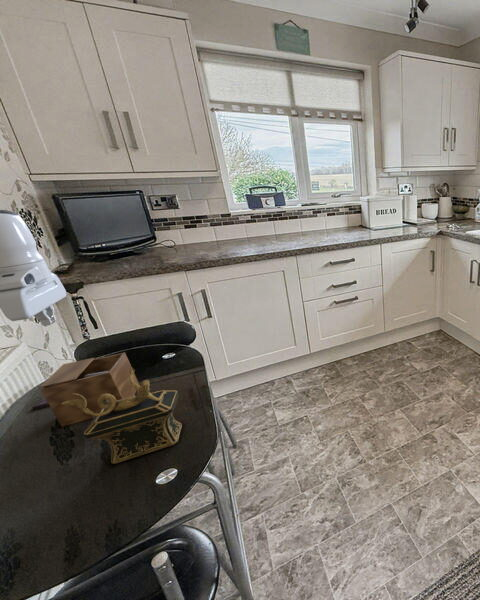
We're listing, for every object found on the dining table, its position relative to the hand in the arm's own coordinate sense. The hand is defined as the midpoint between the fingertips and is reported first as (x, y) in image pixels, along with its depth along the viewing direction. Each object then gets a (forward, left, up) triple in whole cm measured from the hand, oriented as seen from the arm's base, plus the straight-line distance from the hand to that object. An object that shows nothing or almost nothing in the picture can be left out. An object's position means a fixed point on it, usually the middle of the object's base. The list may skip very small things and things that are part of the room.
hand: (50, 323), depth 88 cm
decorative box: (+19, -27, -28) cm, 43 cm away
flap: (-1, 0, -15) cm, 15 cm away
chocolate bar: (-8, +13, -28) cm, 32 cm away
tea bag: (+5, 0, -27) cm, 28 cm away
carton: (+3, 0, -28) cm, 28 cm away
